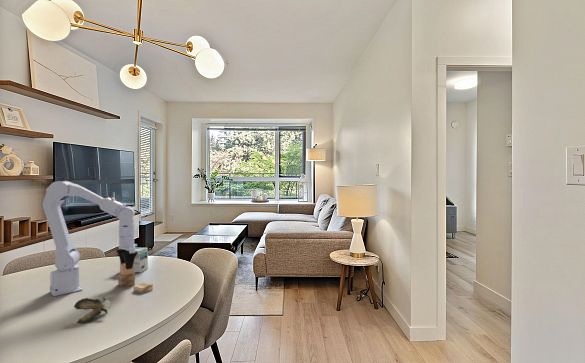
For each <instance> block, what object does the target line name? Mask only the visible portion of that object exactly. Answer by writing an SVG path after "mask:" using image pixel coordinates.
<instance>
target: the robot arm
mask: <svg viewBox="0 0 585 363" xmlns="http://www.w3.org/2000/svg"><path fill="white" fill-rule="evenodd" d="M70 197H80V198H83V199H85V200H87V201H89V202H90V203H93V204H96V205H98V207H99V208H100V210H101V211H103V212H104V213H107V214H109V215H111V216H114V217H117V219H118V220H119V221H118V222H119V224H118V249H115V250H116V251H115V252H116V253H117V255H118V257H119V263H120V262H121V264H123V263H125V266H126V269H132V267H133V263H134V259H135V257H136V255H137V253H138V252H137V251H135V248H136V247H138V244H137V243H135V223H134V222H135V220H134V218H135V214H136V211H135V209H134V208H132V207H131V205H127V204H126V203H121V202H119V201H117V200H116V198H114V197H106V198H104V197H103V196H100V195H98V194H97V193H95V192H93V191H91V190H89V189H87V188H86V187H83V186H81V185H80V184H77V183H74V182H72V181H69V180H63V181H61V180H60V181H57V180H56V181H54V182H52V183H51V184H50V185H49V186H47V188H46V189H45V195H44V199H43V201H42V208H43V211H44V214H45V217H46V220H47V224H48V227H49V230H50V232H51V236H52V239H53V242H54V245H55V246H54V247H55V250H54V256H55V260H54V266H55V267H56V270H52V271H50V273H49V292H50V293H51V296H52V297H56V296H60V295H65V294H69V293H75V292H80V291H83V288H82V287H81V285H80V264H79V262H80V260H81V257H82V256H81V253H80V252H79V251H78V250H77V248H76V245H75V244H74V243H73V242H72V240H71V236H70V233H69V230H68V227H67V224H66V220H65V217H64V215H63V214H64V213H63V210H62V208H61V205H62V204H63V203H64V202H65V200H66V199H68V198H70Z"/></svg>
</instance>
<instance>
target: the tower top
mask: <svg viewBox="0 0 585 363" xmlns="http://www.w3.org/2000/svg"><path fill="white" fill-rule="evenodd" d="M118 279H119V280H120V281H121V282H125V281H130V280H136V272H133V274H128V275H122V274H120V272H119V273H118Z"/></svg>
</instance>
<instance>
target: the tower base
mask: <svg viewBox="0 0 585 363" xmlns="http://www.w3.org/2000/svg"><path fill="white" fill-rule="evenodd" d="M117 280H118V281H117V283H118V284H117V285H118V286H119V287H120V286H121V287H123V288H127V287H131V286H130V285H132V286H135V282H136V281H135V280H136V279H135V280H130V281H125V282H121V281H120V280H119V278H118V279H117ZM126 286H127V287H126ZM121 287H120V288H121Z"/></svg>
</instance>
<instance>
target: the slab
mask: <svg viewBox="0 0 585 363" xmlns="http://www.w3.org/2000/svg"><path fill="white" fill-rule="evenodd" d="M153 290H154V284H153V283H149V282H146V281H144V282H141V283H138V284H136V285H133V292H135V293H138V294H144V293H147V292H150V291H153Z"/></svg>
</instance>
